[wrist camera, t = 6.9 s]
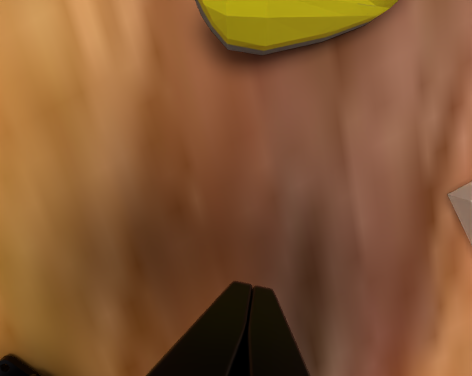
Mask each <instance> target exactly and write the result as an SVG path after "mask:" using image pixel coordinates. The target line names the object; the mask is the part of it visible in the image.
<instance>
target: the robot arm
mask: <svg viewBox="0 0 472 376" xmlns="http://www.w3.org/2000/svg"><path fill="white" fill-rule="evenodd" d="M5 364H7V365H8V366H9V367H7V366H6V365H5ZM0 376H40V375H39V374H38V373H36V372H35V371H33V370H32V369H31V368H29V367H28V366H26V365H25V364H23V363H22V362H21V361H19V360H18V359H16V358H15V357H13V356H10V355H7V356H4V357H3V358H2V359H1V360H0ZM146 376H310V374H309V371H308V369H307V367H306V364H305V362H304V360H303V358H302V355H301V353H300V351H299V348H298V346H297V344H296V341H295V339H294V337H293V334H292V332H291V330H290V327H289V325H288V323H287V321H286V318H285V316H284V314H283V311H282V309H281V307H280V304H279V302H278V300H277V297H276V295H275V293H274V291H273V290H272V289H270V288H266V287H261V286H254V287H253V289H252V285H251V284H248V283H243V282H239V281H233V282H232V283H231V284H230V285H229V286H228V287H227V288H226V289H225V290H224V292H223V293H222V294H221V295H220V296H219V297H218V298H217V299H216V300H215V301H214V302H213V303H212V304H211V306H210V307H209V308H208V309H207V310H206V311H205V312H204V313H203V314H202V315H201V316H200V317H199V319H198V320H197V321H196V322H195V323H194V324H193V325H192V326H191V327H190V328H189V329H188V330H187V332H186V333H185V334H184V335H183V336H182V337H181V338H180V339H179V340H178V341H177V342H176V343H175V345H174V346H173V347H172V348H171V349H170V350H169V351H168V352H167V353H166V354H165V355H164V356H163V357H162V359H161V360H160V361H159V362H158V363H157V364H156V365H155V366H154V367H153V368H152V369H151V370H150V372H149V373H148V374H147V375H146Z"/></svg>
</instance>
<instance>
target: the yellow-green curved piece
mask: <svg viewBox="0 0 472 376" xmlns="http://www.w3.org/2000/svg"><path fill="white" fill-rule="evenodd" d="M195 1H196V4H197V7H198V9H199V11H200V14H201V16H202V18H203V19H204V21H205V22H206V24H207V25H208V27H209V28H210V30H211V31H212V32H213V33H214V34H215V36H216V37H217V38H218V39H219V40H220V41H221V42H222V44H223V45H224V46H225V47H226V48H227V49H228V50H233V51H240V52H246V53H252V54H258V55H265V54H270V53H274V52H279V51H283V50H288V49H292V48H296V47H301V46H305V45H310V44H314V43H319V42H323V41H325V40H328V39H331V38H333V37H336V36H338V35H341V34H343V33H346V32H349V31H351V30H354V29H356V28H359V27H362V26H364V25H366V24H367V23H369V22H370V21H372V20H373V19H375V18H376V17H378V16H379V15H381V14H382V13H384V12H385V11H387V10H388V9H389V8H391V7H392V6H393V5H394V4H395V3H396V2H397V1H398V0H195Z"/></svg>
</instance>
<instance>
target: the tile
mask: <svg viewBox="0 0 472 376" xmlns="http://www.w3.org/2000/svg"><path fill="white" fill-rule="evenodd" d="M447 195H448V197H449V199H450V201H451V203H452V205H453V207H454V209H455V212H456V214H457V216H458V218H459V220H460V222H461V224H462V226H463V228H464V230H465V233H466V235H467V237H468V239H469V241H470V243H471V245H472V182H470V183H468V184H466V185H464V186H462V187H460V188H458V189H457V190H455V191H453V192H451V193H449V194H447Z"/></svg>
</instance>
